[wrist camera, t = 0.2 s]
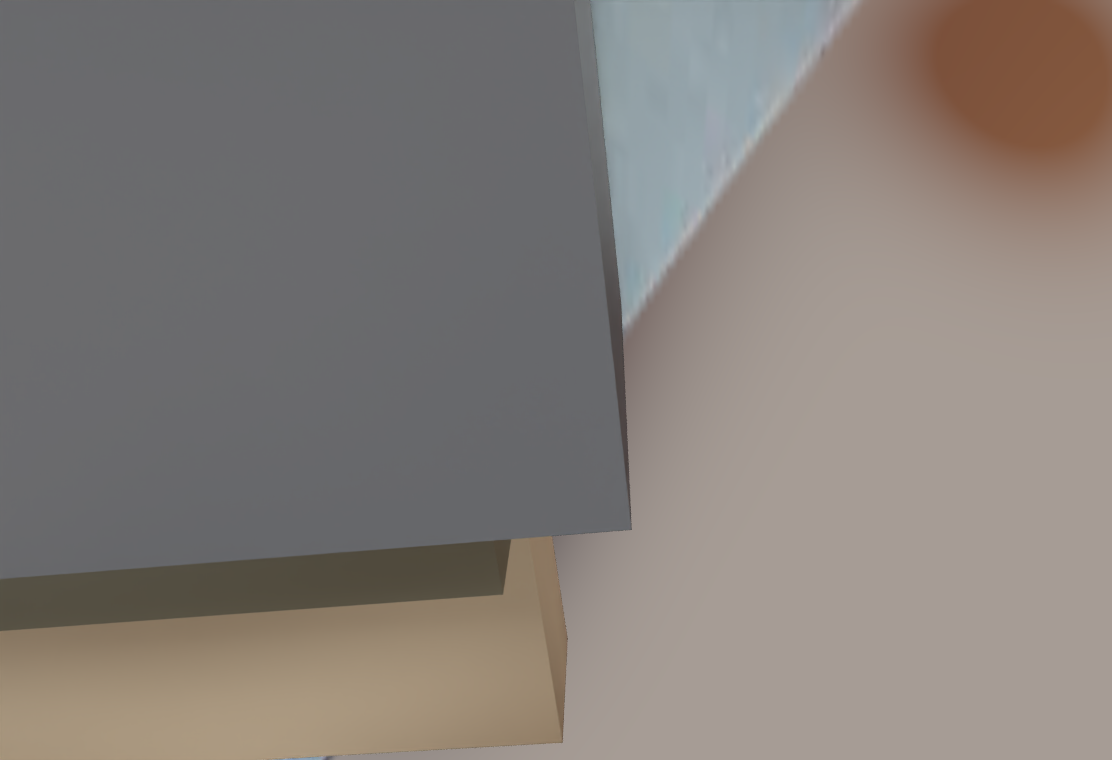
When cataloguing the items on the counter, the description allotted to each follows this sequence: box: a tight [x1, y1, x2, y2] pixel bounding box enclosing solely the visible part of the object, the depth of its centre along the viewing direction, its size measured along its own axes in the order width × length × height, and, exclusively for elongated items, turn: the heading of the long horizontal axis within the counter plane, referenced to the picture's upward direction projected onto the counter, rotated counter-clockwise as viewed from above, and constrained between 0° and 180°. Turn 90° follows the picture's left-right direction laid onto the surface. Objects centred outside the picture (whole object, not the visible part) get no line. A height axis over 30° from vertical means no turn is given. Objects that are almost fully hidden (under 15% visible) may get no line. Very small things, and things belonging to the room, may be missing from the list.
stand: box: [0, 536, 568, 760], centre depth 20 cm, size 14×14×32 cm
